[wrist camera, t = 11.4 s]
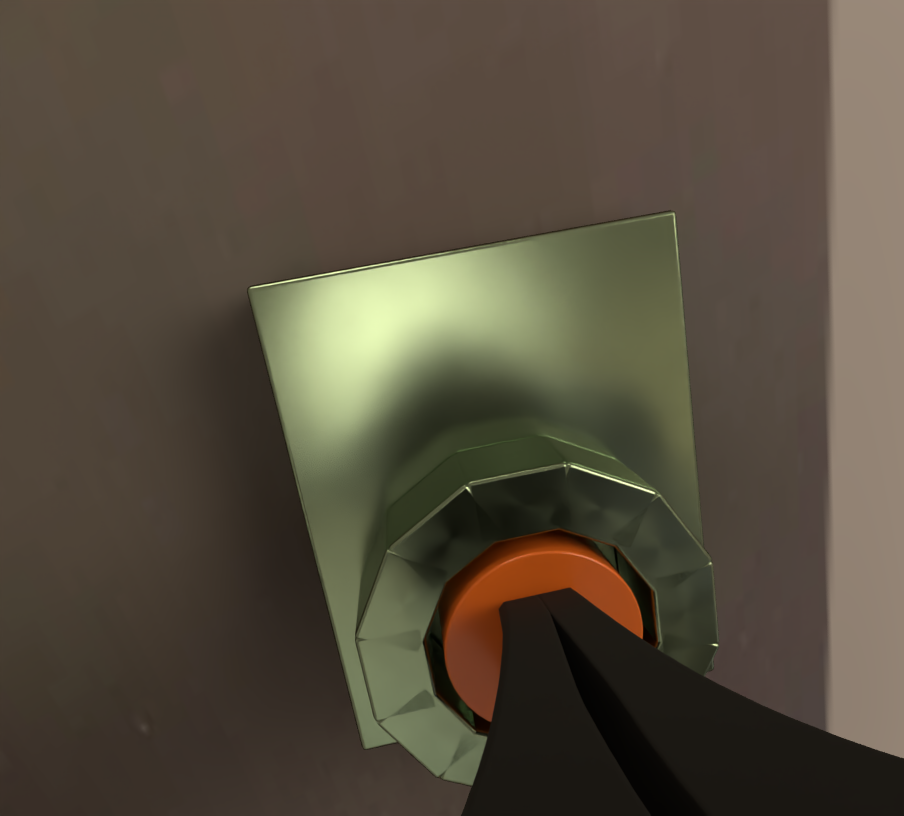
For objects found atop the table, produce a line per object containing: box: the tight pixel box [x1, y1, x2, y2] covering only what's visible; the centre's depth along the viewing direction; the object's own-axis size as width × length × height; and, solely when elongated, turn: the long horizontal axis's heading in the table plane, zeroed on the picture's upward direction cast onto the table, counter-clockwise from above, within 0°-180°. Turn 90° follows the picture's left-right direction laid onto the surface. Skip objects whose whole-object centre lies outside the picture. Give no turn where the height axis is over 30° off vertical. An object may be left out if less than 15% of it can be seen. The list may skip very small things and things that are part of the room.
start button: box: [438, 530, 643, 722], centre depth 11 cm, size 4×4×2 cm
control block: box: [247, 210, 719, 787], centre depth 12 cm, size 10×8×4 cm
